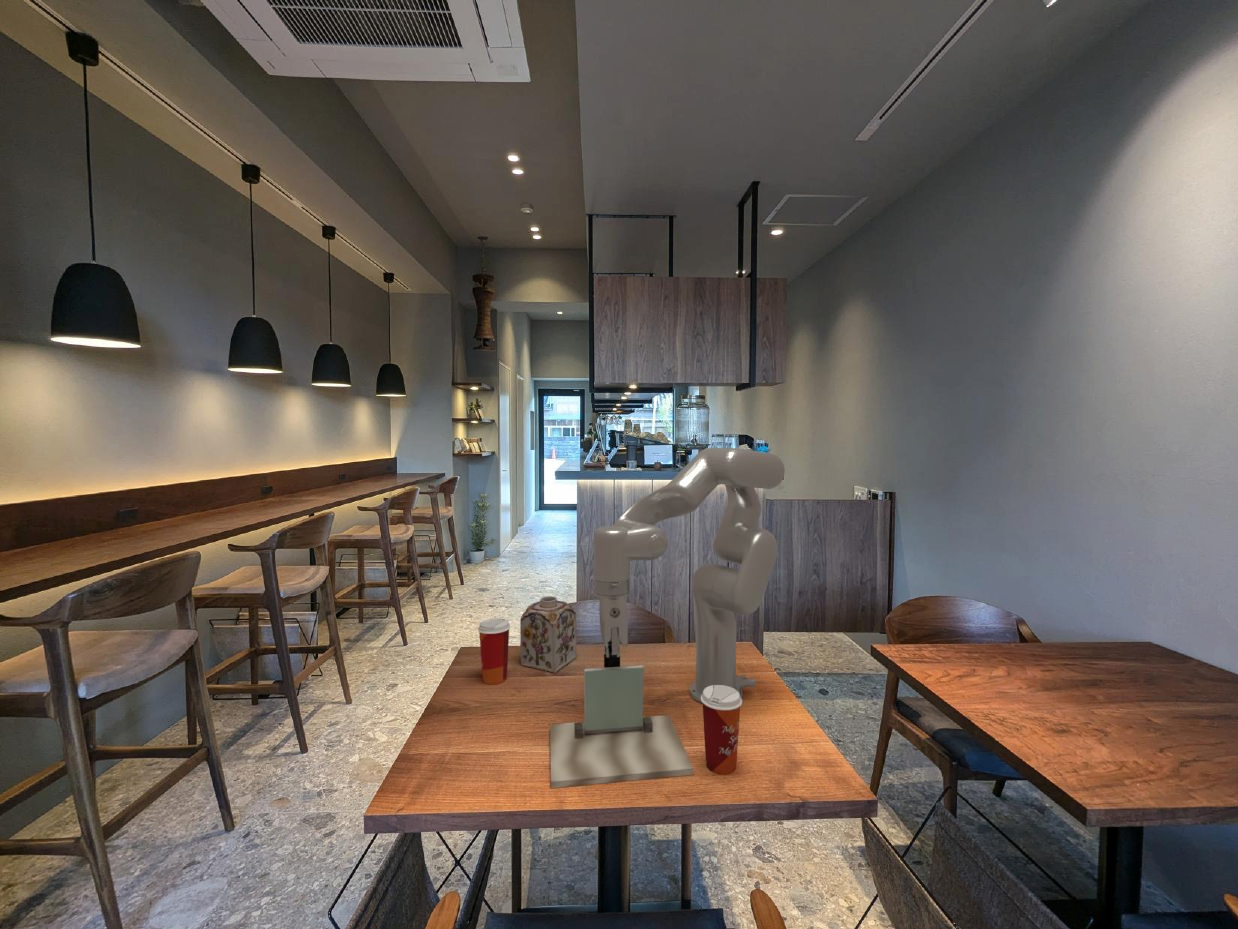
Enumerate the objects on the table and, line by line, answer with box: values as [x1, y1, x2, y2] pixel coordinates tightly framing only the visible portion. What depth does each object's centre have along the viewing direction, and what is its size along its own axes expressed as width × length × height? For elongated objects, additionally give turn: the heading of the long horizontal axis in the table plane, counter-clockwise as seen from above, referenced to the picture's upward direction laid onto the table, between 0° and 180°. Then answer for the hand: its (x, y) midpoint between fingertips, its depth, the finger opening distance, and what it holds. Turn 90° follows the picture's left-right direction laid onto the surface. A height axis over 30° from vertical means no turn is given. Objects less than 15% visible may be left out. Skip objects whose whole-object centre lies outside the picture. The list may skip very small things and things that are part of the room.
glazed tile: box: [583, 664, 645, 734], centre depth 107 cm, size 12×1×14 cm, turn 98°
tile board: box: [549, 714, 694, 789], centre depth 103 cm, size 26×19×3 cm
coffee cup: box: [477, 617, 512, 686], centre depth 134 cm, size 8×8×15 cm
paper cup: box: [701, 685, 743, 775], centre depth 98 cm, size 8×8×14 cm
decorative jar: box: [519, 595, 578, 674], centre depth 145 cm, size 12×12×18 cm
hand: (612, 673), depth 108 cm, fingers closed
